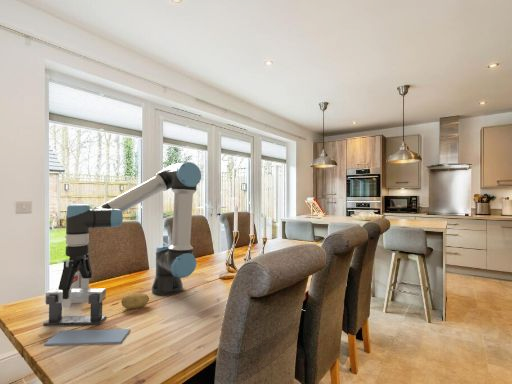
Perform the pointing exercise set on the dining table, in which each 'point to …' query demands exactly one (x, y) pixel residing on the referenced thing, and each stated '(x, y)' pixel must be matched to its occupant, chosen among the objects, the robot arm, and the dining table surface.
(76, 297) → the rail
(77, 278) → the beer can
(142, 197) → the robot arm
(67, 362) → the dining table surface
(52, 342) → the mat
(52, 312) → the standards
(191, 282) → the dining table surface
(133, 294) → the potato
